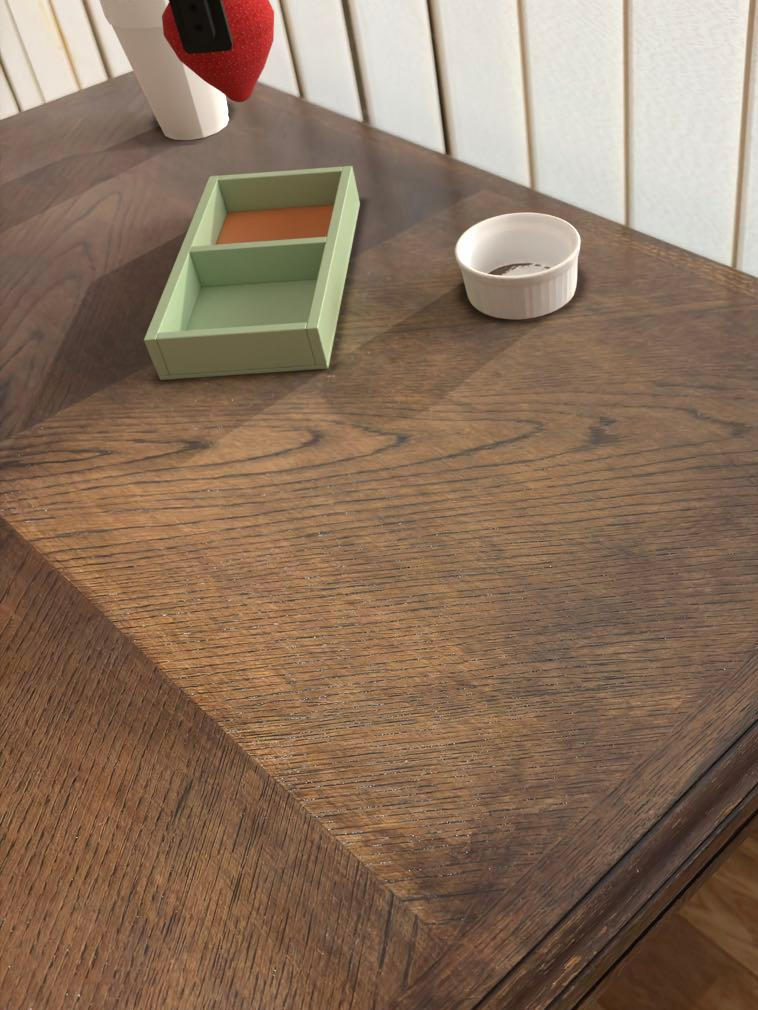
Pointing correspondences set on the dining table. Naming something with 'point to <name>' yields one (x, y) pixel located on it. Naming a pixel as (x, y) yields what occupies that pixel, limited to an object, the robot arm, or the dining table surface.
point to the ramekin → (520, 287)
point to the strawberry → (247, 55)
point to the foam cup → (165, 72)
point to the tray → (258, 276)
